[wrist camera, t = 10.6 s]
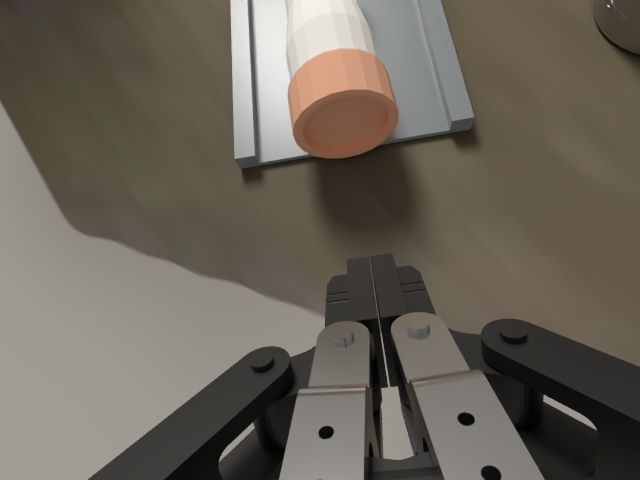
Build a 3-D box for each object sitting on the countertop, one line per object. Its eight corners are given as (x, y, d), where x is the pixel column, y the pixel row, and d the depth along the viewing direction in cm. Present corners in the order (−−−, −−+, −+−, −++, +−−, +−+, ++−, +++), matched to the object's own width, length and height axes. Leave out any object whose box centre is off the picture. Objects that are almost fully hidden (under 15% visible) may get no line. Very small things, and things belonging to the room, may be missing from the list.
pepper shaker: (310, 82, 24) (276, -114, 31) (281, 156, 30) (258, -22, 37) (419, 96, 26) (364, -89, 33) (371, 161, 32) (333, -6, 39)
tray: (417, -59, 39) (418, -76, 37) (470, 129, 31) (474, 117, 30) (235, -18, 41) (229, -33, 39) (241, 168, 33) (234, 158, 31)
